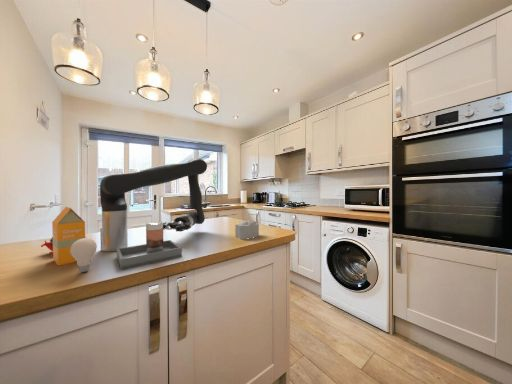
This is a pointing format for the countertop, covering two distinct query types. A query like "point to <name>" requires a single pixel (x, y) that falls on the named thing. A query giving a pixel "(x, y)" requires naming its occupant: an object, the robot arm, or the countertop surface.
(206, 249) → the countertop surface
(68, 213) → the orange juice
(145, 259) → the tote
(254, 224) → the grey rough block
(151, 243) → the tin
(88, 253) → the light bulb
